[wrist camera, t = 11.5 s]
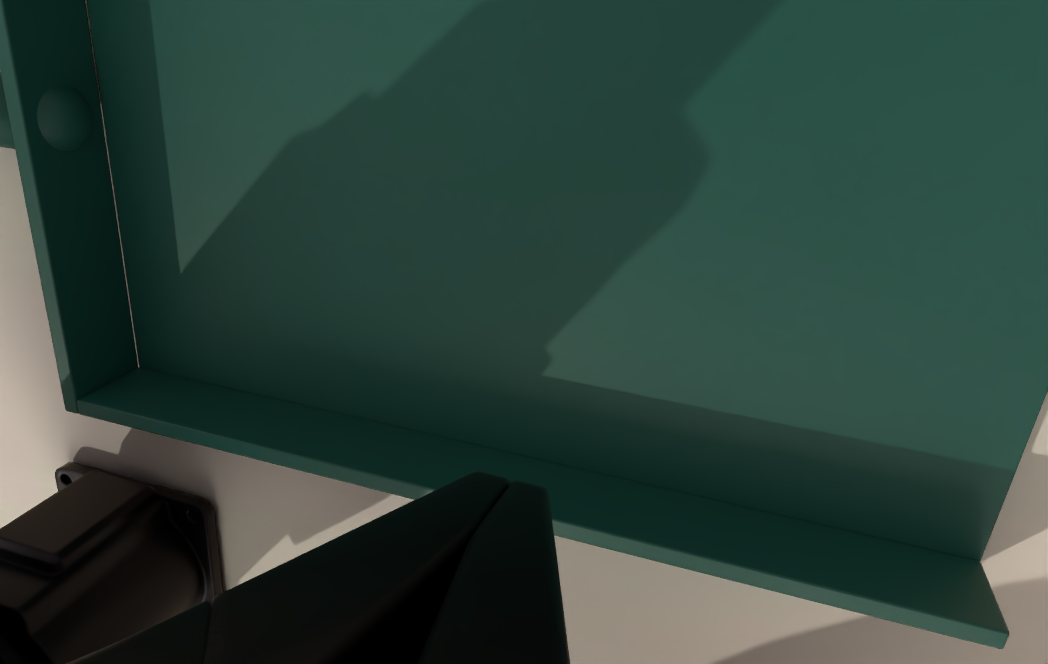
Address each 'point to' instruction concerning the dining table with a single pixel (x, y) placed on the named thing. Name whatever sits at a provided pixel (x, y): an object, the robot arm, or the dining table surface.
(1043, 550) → the dining table surface
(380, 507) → the dining table surface
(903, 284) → the dustpan
